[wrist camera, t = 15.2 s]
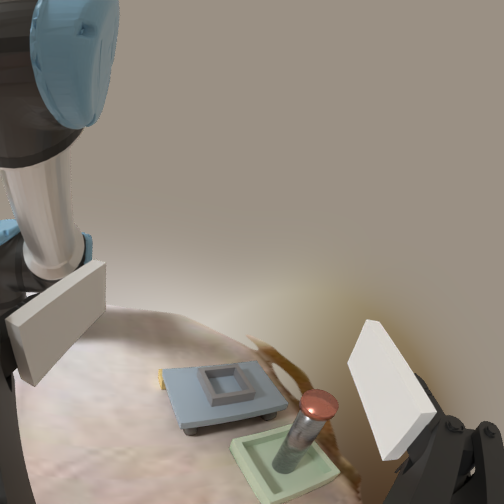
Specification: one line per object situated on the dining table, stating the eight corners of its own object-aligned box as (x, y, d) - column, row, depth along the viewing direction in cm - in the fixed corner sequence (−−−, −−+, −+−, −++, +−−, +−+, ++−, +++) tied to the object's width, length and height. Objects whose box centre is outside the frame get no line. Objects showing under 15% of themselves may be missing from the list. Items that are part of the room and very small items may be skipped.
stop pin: (263, 458, 35) (294, 393, 31) (288, 450, 37) (323, 385, 33) (277, 480, 31) (316, 420, 27) (303, 470, 33) (345, 409, 29)
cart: (158, 378, 48) (159, 349, 46) (244, 370, 57) (252, 343, 55) (179, 441, 36) (181, 415, 34) (280, 421, 44) (292, 395, 42)
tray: (229, 448, 37) (232, 438, 36) (293, 431, 42) (299, 421, 41) (264, 509, 27) (270, 502, 26) (332, 480, 32) (340, 472, 31)
